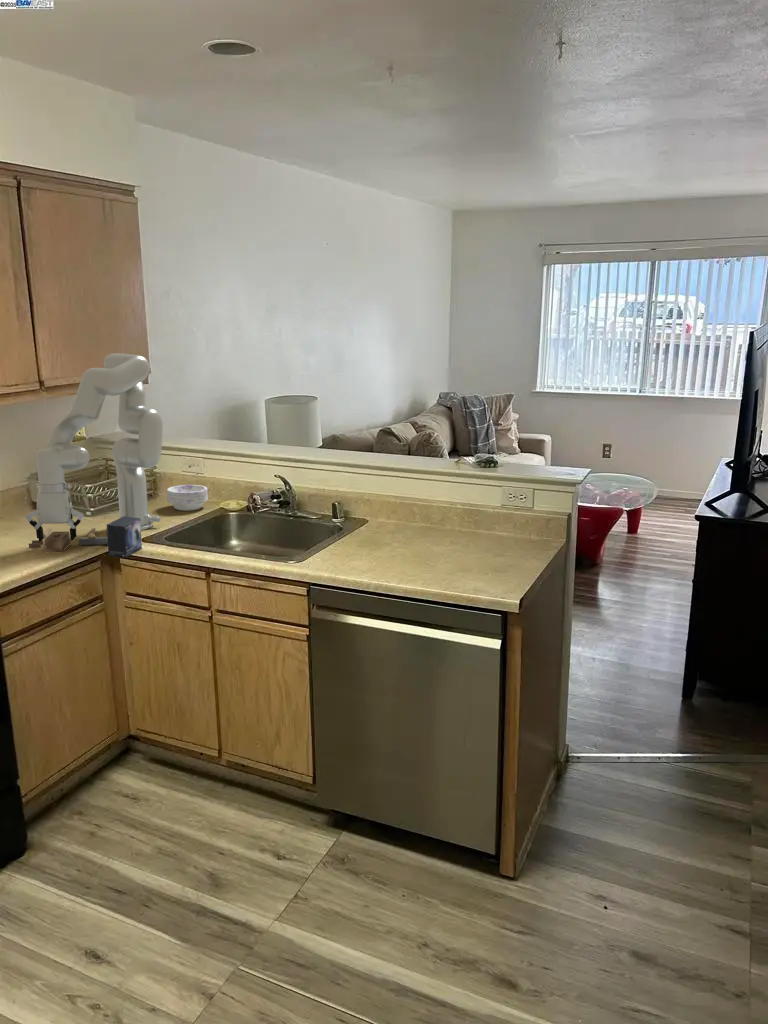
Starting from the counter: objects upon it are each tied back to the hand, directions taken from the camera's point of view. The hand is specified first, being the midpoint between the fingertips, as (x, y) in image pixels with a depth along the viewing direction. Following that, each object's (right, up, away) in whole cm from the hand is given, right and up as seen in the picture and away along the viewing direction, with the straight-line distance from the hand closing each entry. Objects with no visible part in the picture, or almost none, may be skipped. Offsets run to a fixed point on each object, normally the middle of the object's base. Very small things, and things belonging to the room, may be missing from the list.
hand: (57, 539), depth 250 cm
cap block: (0, -3, +1) cm, 3 cm away
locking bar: (+11, -2, +6) cm, 13 cm away
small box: (+23, -4, -2) cm, 23 cm away
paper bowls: (+29, +10, +53) cm, 61 cm away
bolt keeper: (-8, -2, +3) cm, 9 cm away
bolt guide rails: (-2, +1, +16) cm, 16 cm away
